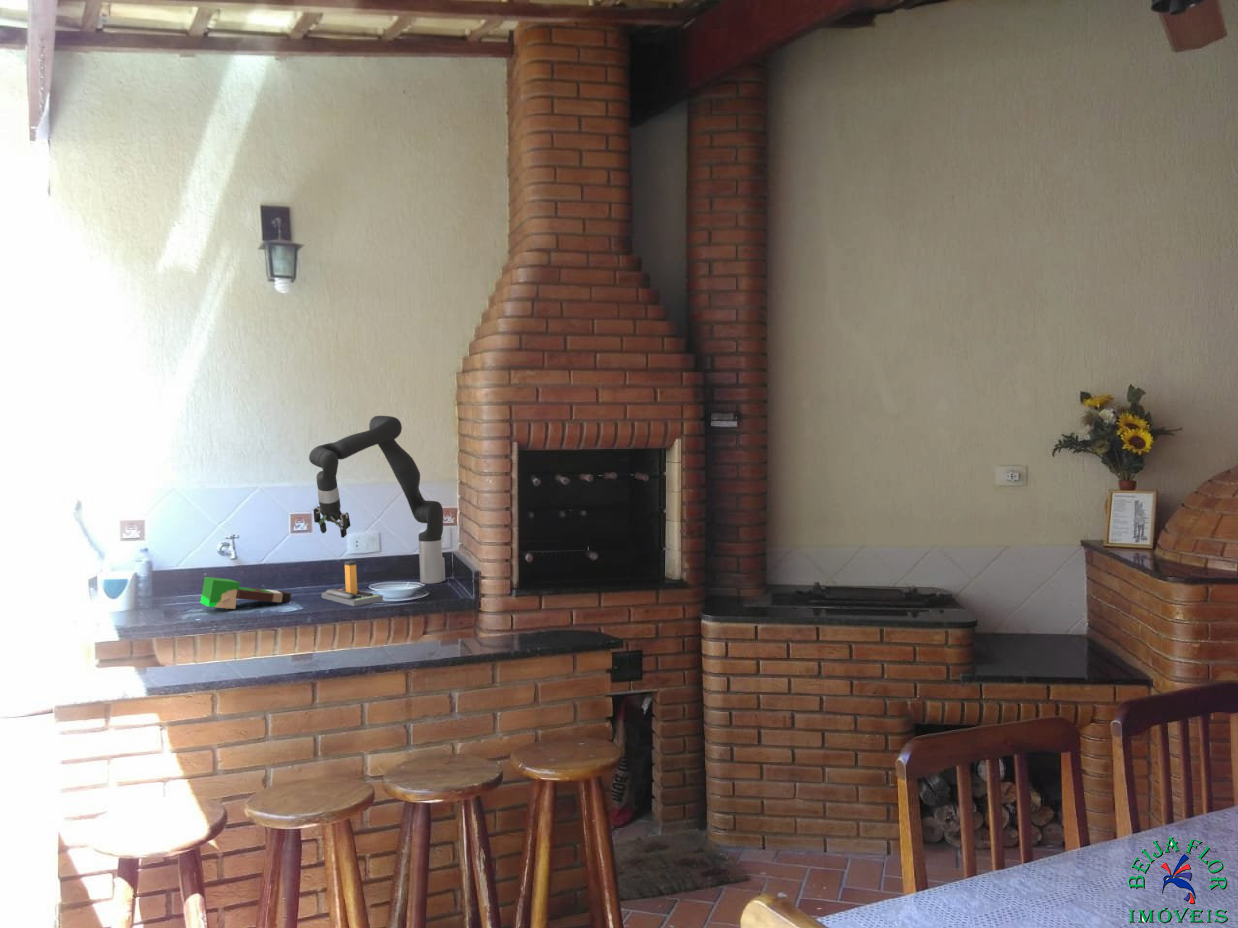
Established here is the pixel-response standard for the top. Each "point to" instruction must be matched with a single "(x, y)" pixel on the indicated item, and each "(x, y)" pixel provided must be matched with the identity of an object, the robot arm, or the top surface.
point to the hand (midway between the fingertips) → (333, 534)
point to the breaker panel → (352, 601)
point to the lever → (350, 576)
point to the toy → (235, 593)
